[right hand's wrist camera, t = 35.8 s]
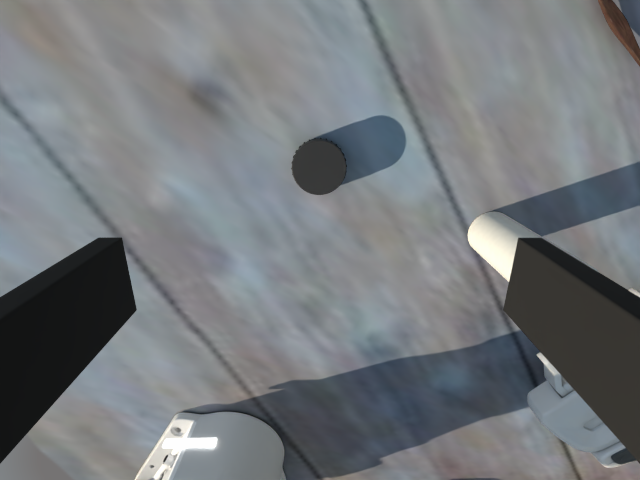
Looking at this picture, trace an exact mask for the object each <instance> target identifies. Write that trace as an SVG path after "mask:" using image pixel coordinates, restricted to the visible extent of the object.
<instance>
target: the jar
mask: <svg viewBox="0 0 640 480" xmlns="http://www.w3.org/2000/svg"><path fill="white" fill-rule="evenodd" d="M518 238H543V237H542V236H540V235H538V234H537V233H535V232H533V231H532V230H530V229H528V228H527V227H525V226H523V225H522V224H520V223H518V222H517V221H515V220H513V219H512V218H510V217H508V216H507V215H505V214H503V213H500V212H487V213H484V214H482V215H480V216H479V217H477V218H476V219H475V220H474V221H473V223H472V224H471V226H470V228H469V231H468V240H469V243H470V245H471V246H472V248H473V249H475V250H476V251H477V252H478V253H479V254H480V255H481V256H482V257H483V258H484V259H485V260H486V261H487V262H488V263H489V264H490V265H491V266H493V267H494V268H495V269H496V270H497V271H498V272H499V273H500V274H501V275H502V276H503V277H504V278H505V279H506V280H507V281H508V282H509V280H510V275H511V270H512V266H513V261H514V256H515V251H516V246H517V241H518ZM543 239H544V240H546V241H548V240H547V239H545V238H543ZM548 242H549V243H551V244H553V243H552V242H550V241H548ZM553 245H554V246H556V247H557V248H559V249H561V250H562V251H564V252H566V253H567V254H569V255H571V256H572V257H574V258H576V259H577V260H579V261H581V262H582V263H584V264H586V265H587V266H589V267H590V268H592V269H594V270H595V271H597V270H596V269H595V268H593V267H592V266H590V265H588V264H587V263H585V262H583V261H582V260H580V259H578V258H577V257H575V256H573V255H572V254H570V253H568V252H567V251H565V250H563V249H562V248H560V247H558V246H557V245H555V244H553ZM597 272H598V271H597Z"/></svg>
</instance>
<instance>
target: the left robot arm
mask: <svg viewBox="0 0 640 480" xmlns="http://www.w3.org/2000/svg"><path fill="white" fill-rule="evenodd" d="M628 291H630V292H632V293H633V294H635V295H637V296H638V297H640V293H639V292H638V291H636V290H634V289H633V288H630V289H629V290H628ZM537 356H538V357H539V358H540V360H541V361H542V362H543V363H544V377H545V378H546V379H547V380H546V381H545V382H543V383H542V384H540V385H539V386H537V387H536V388H534V389H533V390H531V391H530V392H529V393H528V396H527V403H528V405H529V407H530V408H531V410H532V411H533V413H534V414H535V415H536V417H537V418H538V419H539V421H540V422H541V423H542V424H543V425H544V426H545V427H546V428H547V429H548V430H549V431H550V432H552V433H553V434H554V435H555V436H557V437H558V438H559V439H561V440H562V441H564V442H565V443H567V444H568V445H570V446H571V447H573V448H575V449H577V450H580V451H583V452H591V454H592V455H593V456H594V457H595V458H596V459H597V460H598V461H599V462H600V463H601V464H602V465H603V466H605V467H607V468H613V467H617V466H620V465H623V464H627V463H630V462H633V461H637V460H636V459H635V458H634V456H633V455H632V454H631V453H630V452H629V451H628V450H627V449H626V447H625V446H624V445H623V444H622V443H621V442H620V441H619V440H618V438H617V437H616V436H615V435H614V434H613V433H612V432H611V431H610V429H609V428H608V427H607V426H606V425H605V424H604V423H603V422H602V420H601V419H600V418H599V417H598V416H597V415H596V414H595V413H594V411H593V410H592V409H591V408H590V407H589V406H588V405H587V404H586V402H585V401H584V400H583V399H582V398H581V397H580V396H579V395H578V393H577V392H576V391H575V390H574V389H573V388H572V387H571V386H570V384H569V383H568V382H567V381H566V380H565V379H564V378H563V377H562V375H561V374H560V373H559V372H558V371H557V370H556V369H555V368H554V366H553V365H552V364H551V363H550V362H549V361H548V360H547V359H546V357H545V356H544V355H543V354H542V353H541V352H539V353H538V354H537ZM283 461H284V446H283V443H282V441H281V439H280V437H279V436H278V434H277V433H276V432H275V431H274V430H273V429H272V428H271V427H270V426H269V425H267V424H266V423H265V422H263V421H261V420H259V419H257V418H255V417H253V416H250V415H247V414H243V413H237V412H216V413H210V414H201V415H200V414H194V413H178V414H176V415H175V417H174V418H173V420H172V421H171V423H170V424H169V426H168V427H167V429H166V430H165V432H164V433H163V435H162V437H161V438H160V440H159V441H158V443H157V444H156V446H155V447H154V449H153V450H152V452H151V454H150V455H149V457H148V458H147V460H146V461H145V463H144V464H143V466H142V467H141V469H140V471H139V472H138V474H137V476H136V478H135V480H286V476H285V473H284V471H283Z"/></svg>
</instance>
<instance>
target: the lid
mask: <svg viewBox="0 0 640 480" xmlns="http://www.w3.org/2000/svg"><path fill="white" fill-rule="evenodd" d="M295 153H296V154H295V155H294V156H293V158H294V159H293V161H292V168H291V169H292V173H293V177H294V179H295V181H296V183H297V184H298V185H299V186H300V187H301V188H302V189H303V190H304V191H306V192H308V193H311V194H315V195H323V194H327V193H330V192H332V191H334V190H335V189H336V188H338V187H339V186H340V184H341V183H342V181H343V179H344V178H345V174H346V167H347V165H346V162H345V161H346V159H345V158H344V154H343V153H342V152H341V149H340V148H339V147H338V146H337V144H336V145H335V144H334V143H333V142H332V141H329V140H327V139H326V140H325V139H321V138H320V139H316V138H314V139H313V140H309V141H307V142H306V143H305V142H304V144H303V145H302V146H300V147H299V149H298V150H296V152H295Z"/></svg>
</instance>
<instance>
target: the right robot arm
mask: <svg viewBox="0 0 640 480" xmlns="http://www.w3.org/2000/svg"><path fill="white" fill-rule="evenodd" d="M135 311H136V305H135V300H134V295H133V290H132V285H131V280H130V275H129V270H128V266H127V261H126V256H125V251H124V246H123V241H122V238H97V239H96V240H94V241H92V242H91V243H89V244H87V245H86V246H84V247H83V248H81V249H79V250H78V251H76V252H74V253H73V254H71V255H69V256H68V257H66V258H64V259H63V260H61V261H59V262H58V263H56V264H54V265H53V266H51V267H50V268H48V269H46V270H45V271H43V272H41V273H40V274H38V275H36V276H35V277H33V278H31V279H30V280H28V281H26V282H25V283H23V284H21V285H20V286H18V287H17V288H15V289H13V290H12V291H10V292H8V293H7V294H5V295H3V296H2V297H0V463H1V462H2V461H3V460H4V459H5V458H6V456H7V455H8V454H9V453H10V452H11V451H12V450H13V449H14V447H15V446H16V445H17V444H18V443H19V442H20V441H21V440H22V438H23V437H24V436H25V435H26V434H27V433H28V432H29V431H30V429H31V428H32V427H33V426H34V425H35V424H36V423H37V422H38V420H39V419H40V418H41V417H42V416H43V415H44V414H45V413H46V411H47V410H48V409H49V408H50V407H51V406H52V405H53V404H54V402H55V401H56V400H57V399H58V398H59V397H60V396H61V395H62V393H63V392H64V391H65V390H66V389H67V388H68V387H69V386H70V384H71V383H72V382H73V381H74V380H75V379H76V378H77V377H78V375H79V374H80V373H81V372H82V371H83V370H84V369H85V368H86V366H87V365H88V364H89V363H90V362H91V361H92V360H93V359H94V357H95V356H96V355H97V354H98V353H99V352H100V351H101V350H102V348H103V347H104V346H105V345H106V344H107V343H108V342H109V341H110V339H111V338H112V337H113V336H114V335H115V334H116V333H117V332H118V330H119V329H120V328H121V327H122V326H123V325H124V324H125V323H126V321H127V320H128V319H129V318H130V317H131V316H132V315H133V314H134V312H135ZM504 311H505V312H506V314H507V315H508V316H509V317H510V318H511V319H512V320H513V321H514V323H515V324H516V325H517V326H518V327H519V328H520V329H521V330H522V332H523V333H524V334H525V335H526V336H527V337H528V338H529V339H530V341H531V342H532V343H533V344H534V345H535V346H536V347H537V348H538V350H539V351H540V352H541V353H542V354H543V355H544V356H545V357H546V359H547V360H548V361H549V362H550V363H551V364H552V365H553V366H554V368H555V369H556V370H557V371H558V372H559V373H560V374H561V375H562V377H563V378H564V379H565V380H566V381H567V382H568V383H569V384H570V386H571V387H572V388H573V389H574V390H575V391H576V392H577V393H578V395H579V396H580V397H581V398H582V399H583V400H584V401H585V402H586V404H587V405H588V406H589V407H590V408H591V409H592V410H593V411H594V413H595V414H596V415H597V416H598V417H599V418H600V419H601V420H602V422H603V423H604V424H605V425H606V426H607V427H608V428H609V429H610V431H611V432H612V433H613V434H614V435H615V436H616V437H617V438H618V440H619V441H620V442H621V443H622V444H623V445H624V446H625V447H626V449H627V450H628V451H629V452H630V453H631V454H632V455H633V456H634V458H635V459H636V460H637V461H638V462H639V463H640V297H638V296H637V295H635V294H633V293H632V292H630V291H628V290H627V289H625V288H623V287H622V286H620V285H619V284H617V283H615V282H614V281H612V280H610V279H609V278H607V277H605V276H604V275H602V274H600V273H599V272H597V271H595V270H594V269H592V268H590V267H589V266H587V265H586V264H584V263H582V262H581V261H579V260H577V259H576V258H574V257H572V256H571V255H569V254H567V253H566V252H564V251H562V250H561V249H559V248H557V247H556V246H554V245H553V244H551V243H549V242H548V241H546V240H544V239H543V238H518V241H517V246H516V251H515V256H514V261H513V266H512V270H511V275H510V280H509V285H508V290H507V295H506V300H505V305H504Z"/></svg>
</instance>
